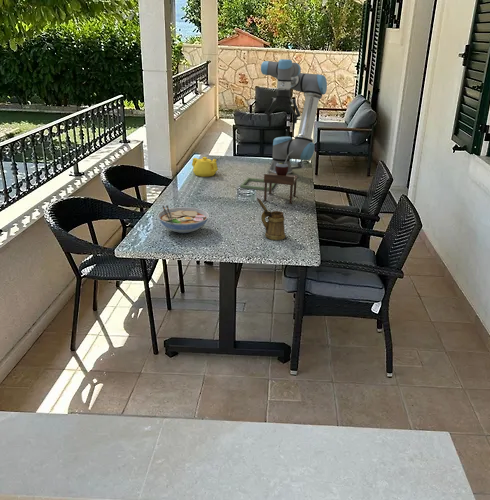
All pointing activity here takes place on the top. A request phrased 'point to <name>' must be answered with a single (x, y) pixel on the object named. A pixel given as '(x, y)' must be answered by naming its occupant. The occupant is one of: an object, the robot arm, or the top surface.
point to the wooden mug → (273, 223)
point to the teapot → (204, 167)
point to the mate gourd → (282, 167)
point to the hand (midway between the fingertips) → (281, 128)
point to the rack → (280, 179)
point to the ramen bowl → (183, 219)
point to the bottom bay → (254, 186)
